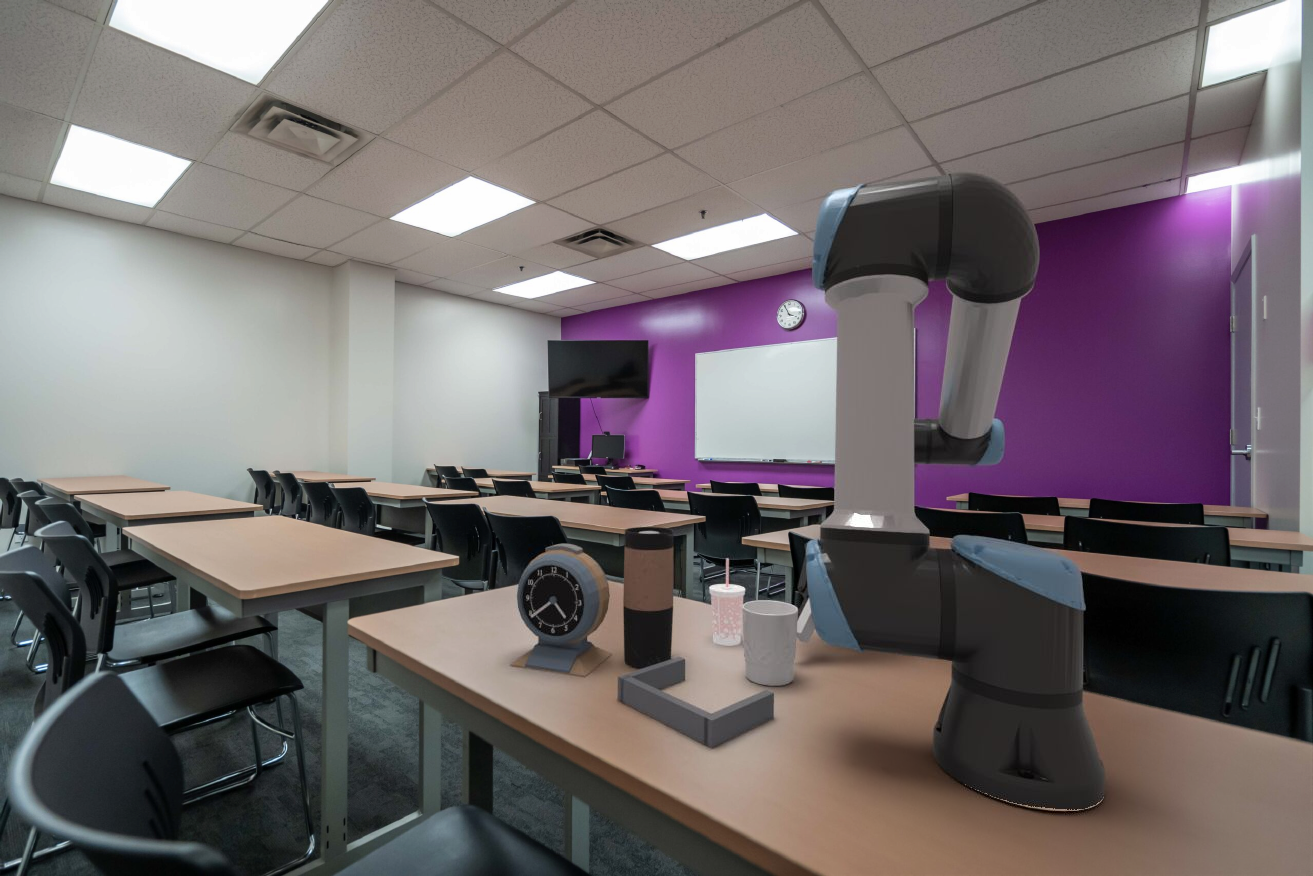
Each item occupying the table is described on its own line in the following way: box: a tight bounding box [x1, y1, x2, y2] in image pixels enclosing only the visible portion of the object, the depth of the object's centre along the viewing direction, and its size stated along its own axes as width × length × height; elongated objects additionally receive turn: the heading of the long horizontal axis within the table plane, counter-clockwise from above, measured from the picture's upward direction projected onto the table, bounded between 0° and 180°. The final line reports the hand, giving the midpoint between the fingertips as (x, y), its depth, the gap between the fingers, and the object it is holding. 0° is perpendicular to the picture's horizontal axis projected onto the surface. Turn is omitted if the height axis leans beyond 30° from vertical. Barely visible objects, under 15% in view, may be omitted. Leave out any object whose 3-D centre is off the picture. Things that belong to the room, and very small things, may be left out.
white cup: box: [742, 599, 799, 687], centre depth 85 cm, size 8×8×10 cm
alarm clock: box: [509, 543, 613, 678], centre depth 91 cm, size 14×10×18 cm
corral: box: [617, 656, 775, 749], centre depth 75 cm, size 11×16×3 cm
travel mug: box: [622, 526, 675, 670], centre depth 91 cm, size 8×8×20 cm
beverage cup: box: [708, 557, 746, 647], centre depth 101 cm, size 6×6×14 cm
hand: (800, 637), depth 91 cm, fingers closed
